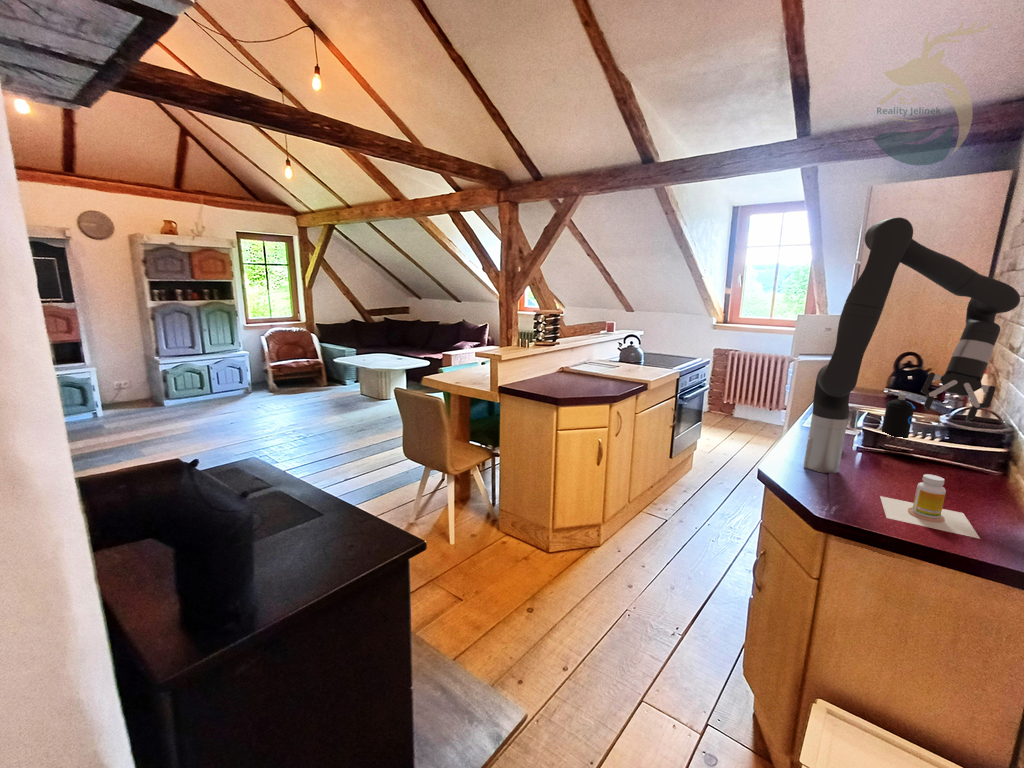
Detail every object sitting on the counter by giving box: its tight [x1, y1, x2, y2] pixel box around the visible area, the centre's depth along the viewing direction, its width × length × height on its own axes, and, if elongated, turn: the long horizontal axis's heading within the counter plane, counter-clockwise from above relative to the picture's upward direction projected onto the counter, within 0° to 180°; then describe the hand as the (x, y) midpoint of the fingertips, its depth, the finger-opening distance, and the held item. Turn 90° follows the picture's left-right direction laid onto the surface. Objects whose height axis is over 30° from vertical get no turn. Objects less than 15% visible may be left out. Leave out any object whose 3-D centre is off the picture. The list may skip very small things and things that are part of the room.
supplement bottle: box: [912, 473, 947, 518], centre depth 118 cm, size 5×5×10 cm
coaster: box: [908, 508, 945, 522], centre depth 119 cm, size 7×7×1 cm
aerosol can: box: [881, 393, 916, 439], centre depth 170 cm, size 8×8×20 cm
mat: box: [879, 495, 981, 539], centre depth 119 cm, size 17×15×1 cm
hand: (947, 415), depth 131 cm, fingers open, 8 cm apart
